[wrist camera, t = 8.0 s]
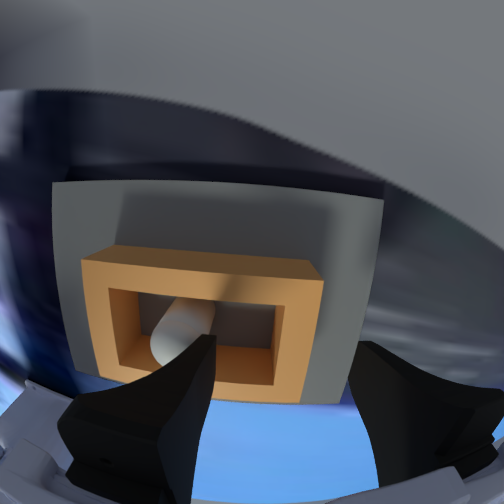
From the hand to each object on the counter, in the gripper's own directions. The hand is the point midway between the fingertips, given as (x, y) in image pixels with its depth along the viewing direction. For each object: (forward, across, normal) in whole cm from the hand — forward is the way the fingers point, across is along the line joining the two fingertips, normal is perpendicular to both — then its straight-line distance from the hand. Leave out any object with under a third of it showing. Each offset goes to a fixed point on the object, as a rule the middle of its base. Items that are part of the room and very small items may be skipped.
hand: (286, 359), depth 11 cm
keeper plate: (+5, +5, 0) cm, 7 cm away
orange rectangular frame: (+4, +4, 0) cm, 6 cm away
